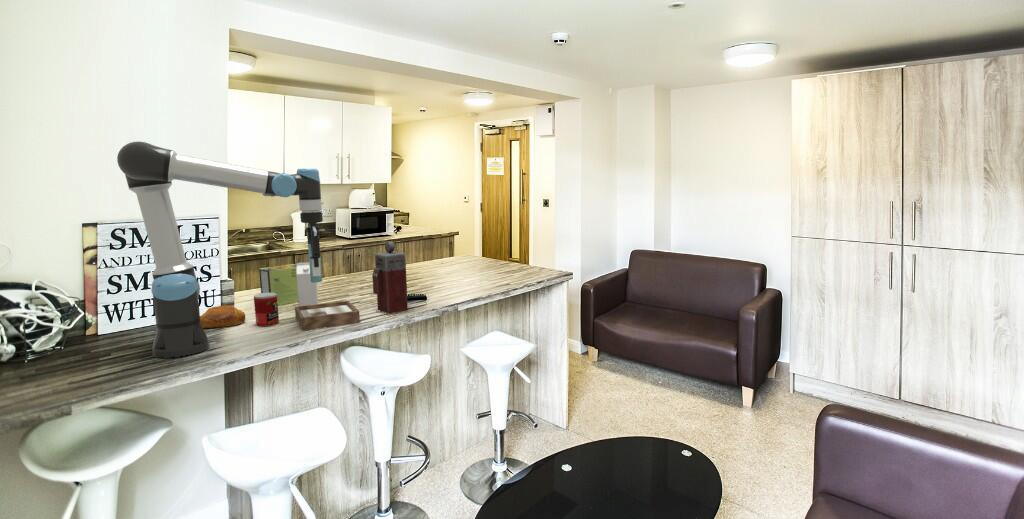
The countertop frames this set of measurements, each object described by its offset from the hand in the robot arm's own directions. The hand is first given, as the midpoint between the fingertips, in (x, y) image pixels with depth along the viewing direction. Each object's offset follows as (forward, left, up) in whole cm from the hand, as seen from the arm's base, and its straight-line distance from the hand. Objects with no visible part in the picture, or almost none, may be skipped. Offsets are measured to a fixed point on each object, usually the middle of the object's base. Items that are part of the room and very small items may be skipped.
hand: (315, 274), depth 195 cm
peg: (0, 0, -3) cm, 3 cm away
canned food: (-17, +7, -18) cm, 26 cm away
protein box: (-8, +43, -18) cm, 47 cm away
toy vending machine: (+28, +3, -18) cm, 33 cm away
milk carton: (0, +26, -18) cm, 32 cm away
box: (+3, 0, -18) cm, 18 cm away
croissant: (-32, +16, -18) cm, 40 cm away
